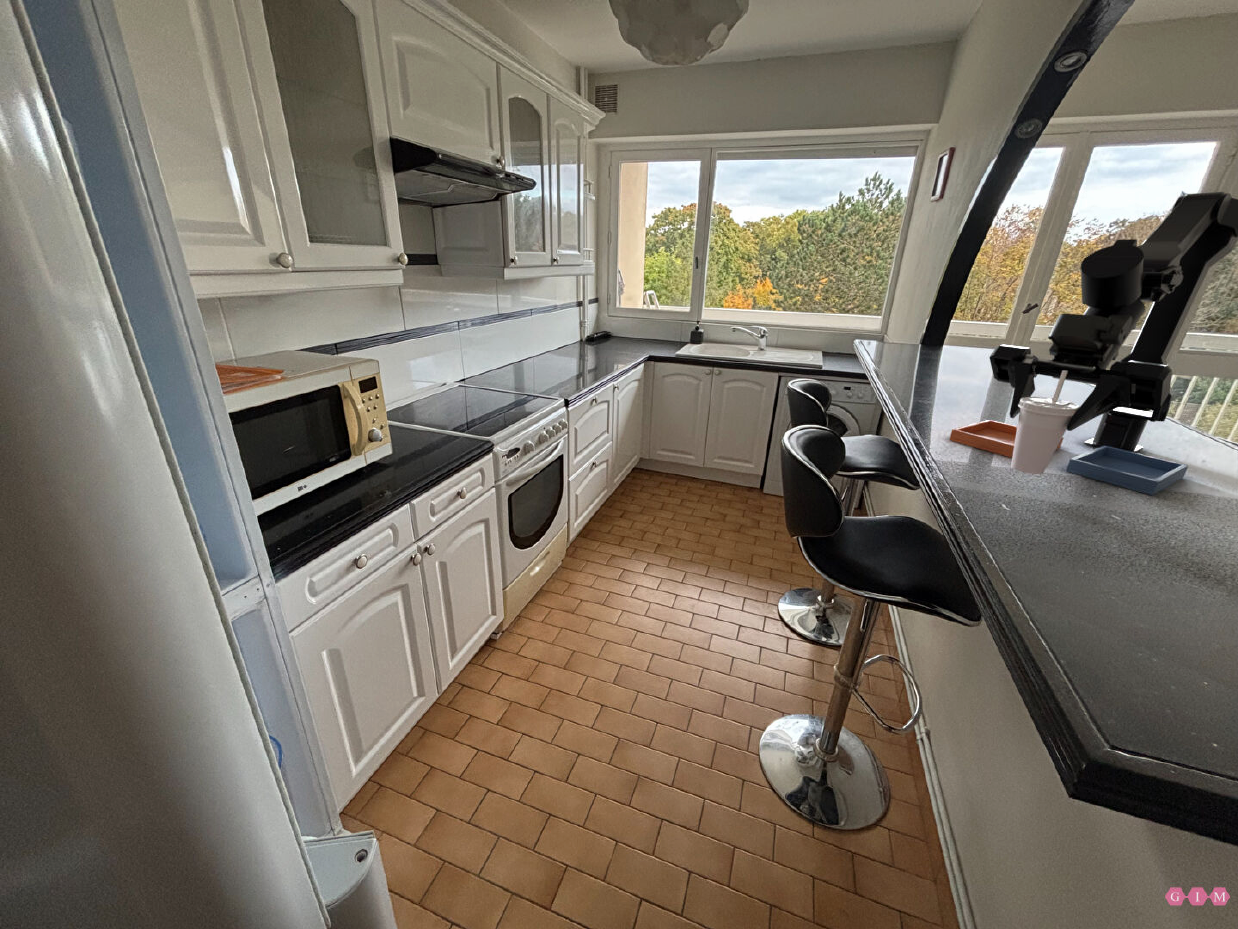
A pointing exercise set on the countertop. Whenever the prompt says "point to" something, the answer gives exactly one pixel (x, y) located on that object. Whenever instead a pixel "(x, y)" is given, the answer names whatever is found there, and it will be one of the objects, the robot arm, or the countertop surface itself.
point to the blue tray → (1127, 469)
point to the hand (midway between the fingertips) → (1038, 422)
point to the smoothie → (1040, 429)
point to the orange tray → (989, 437)
